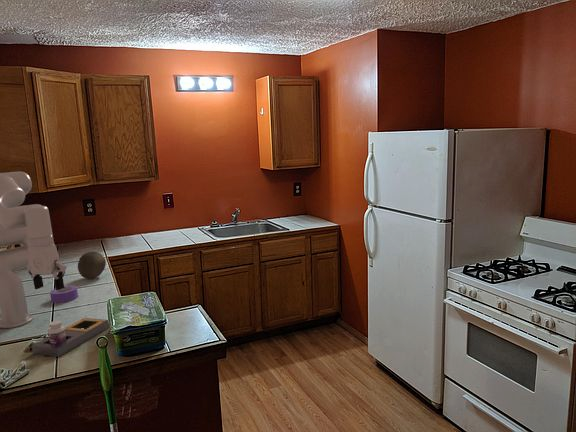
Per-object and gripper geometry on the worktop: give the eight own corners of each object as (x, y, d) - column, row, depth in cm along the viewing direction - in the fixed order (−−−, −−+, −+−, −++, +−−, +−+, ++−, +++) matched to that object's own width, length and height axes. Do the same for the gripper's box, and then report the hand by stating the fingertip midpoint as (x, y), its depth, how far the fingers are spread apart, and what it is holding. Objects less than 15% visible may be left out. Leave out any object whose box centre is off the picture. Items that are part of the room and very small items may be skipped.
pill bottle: (47, 350, 159) (43, 325, 158) (58, 344, 164) (53, 319, 163) (60, 351, 158) (56, 325, 156) (70, 344, 163) (66, 319, 162)
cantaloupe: (86, 283, 238) (82, 256, 236) (75, 279, 248) (71, 253, 245) (111, 276, 248) (108, 250, 246) (100, 272, 258) (96, 247, 255)
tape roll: (79, 299, 214) (78, 289, 213) (52, 305, 208) (50, 295, 207) (76, 293, 224) (75, 283, 223) (50, 299, 218) (49, 289, 217)
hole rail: (32, 353, 158) (31, 345, 157) (85, 324, 181) (84, 317, 180) (58, 356, 154) (57, 348, 153) (109, 327, 177) (108, 319, 176)
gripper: (13, 244, 154) (22, 291, 157) (51, 244, 148) (59, 293, 151) (32, 239, 161) (40, 284, 164) (69, 239, 155) (76, 286, 158)
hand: (49, 288), depth 157 cm, fingers open, 9 cm apart
